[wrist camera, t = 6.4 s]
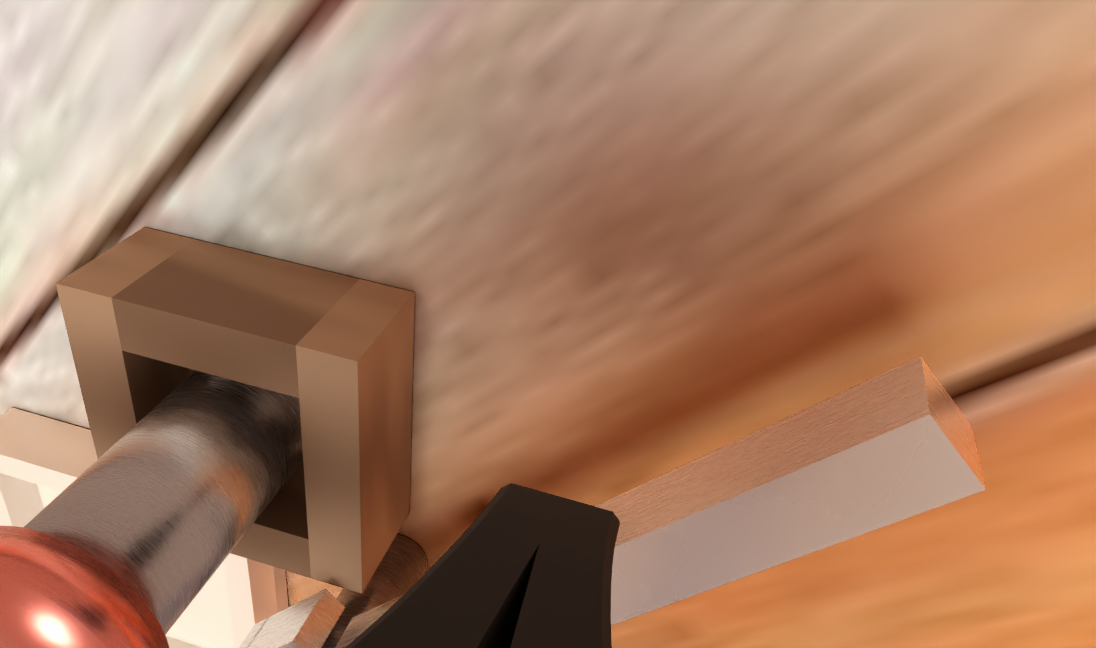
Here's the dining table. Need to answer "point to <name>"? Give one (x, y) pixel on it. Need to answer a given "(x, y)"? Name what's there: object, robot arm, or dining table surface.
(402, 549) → the pivot post
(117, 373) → the socket block
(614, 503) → the bar
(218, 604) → the tray
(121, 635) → the steel pin
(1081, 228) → the dining table surface
